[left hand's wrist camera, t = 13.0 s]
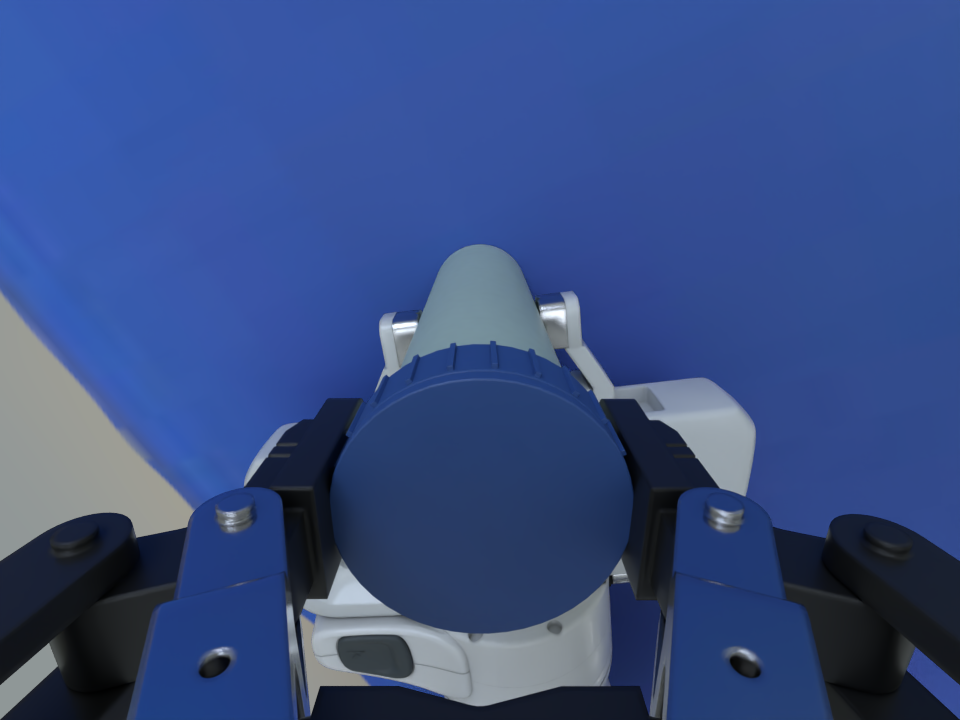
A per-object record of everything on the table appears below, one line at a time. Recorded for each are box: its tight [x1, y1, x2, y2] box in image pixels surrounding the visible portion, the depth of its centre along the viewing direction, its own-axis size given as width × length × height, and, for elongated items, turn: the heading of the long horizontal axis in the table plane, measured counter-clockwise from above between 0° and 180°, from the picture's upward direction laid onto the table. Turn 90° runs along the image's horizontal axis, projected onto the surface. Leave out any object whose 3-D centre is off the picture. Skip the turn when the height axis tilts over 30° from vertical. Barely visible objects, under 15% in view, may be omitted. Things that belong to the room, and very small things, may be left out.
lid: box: [329, 341, 634, 634], centre depth 10 cm, size 6×6×2 cm
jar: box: [400, 244, 561, 369], centre depth 18 cm, size 4×4×18 cm
